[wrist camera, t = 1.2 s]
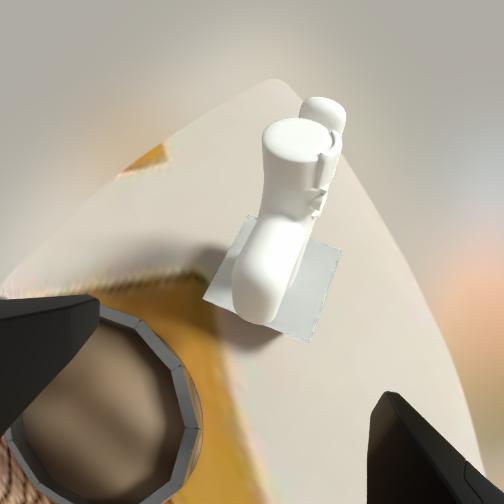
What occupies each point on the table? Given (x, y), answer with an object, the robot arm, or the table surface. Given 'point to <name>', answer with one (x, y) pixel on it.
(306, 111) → the figurine
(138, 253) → the table surface
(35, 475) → the round grey tray
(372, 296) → the table surface
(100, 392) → the brown round plate
